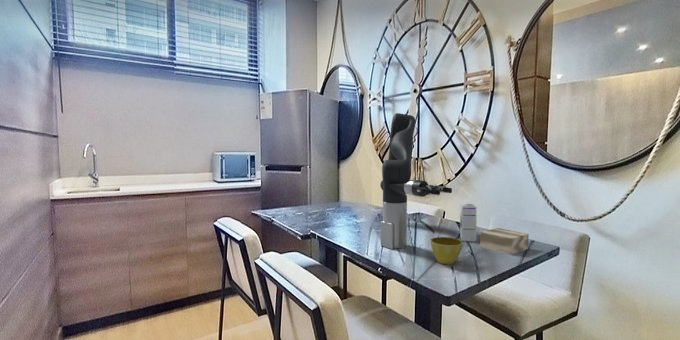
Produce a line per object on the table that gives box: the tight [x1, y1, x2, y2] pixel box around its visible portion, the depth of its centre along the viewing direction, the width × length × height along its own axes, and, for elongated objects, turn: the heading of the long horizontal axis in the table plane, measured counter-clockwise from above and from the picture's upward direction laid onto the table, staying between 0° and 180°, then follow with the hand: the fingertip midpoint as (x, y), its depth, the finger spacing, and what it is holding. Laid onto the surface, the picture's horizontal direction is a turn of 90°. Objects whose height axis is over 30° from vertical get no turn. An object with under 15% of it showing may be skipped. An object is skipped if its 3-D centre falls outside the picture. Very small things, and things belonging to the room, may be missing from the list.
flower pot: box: [430, 236, 463, 265], centre depth 116 cm, size 10×10×7 cm
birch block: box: [479, 227, 530, 255], centre depth 132 cm, size 12×12×6 cm
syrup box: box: [459, 203, 478, 243], centre depth 143 cm, size 6×6×14 cm
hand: (445, 191), depth 151 cm, fingers open, 8 cm apart
